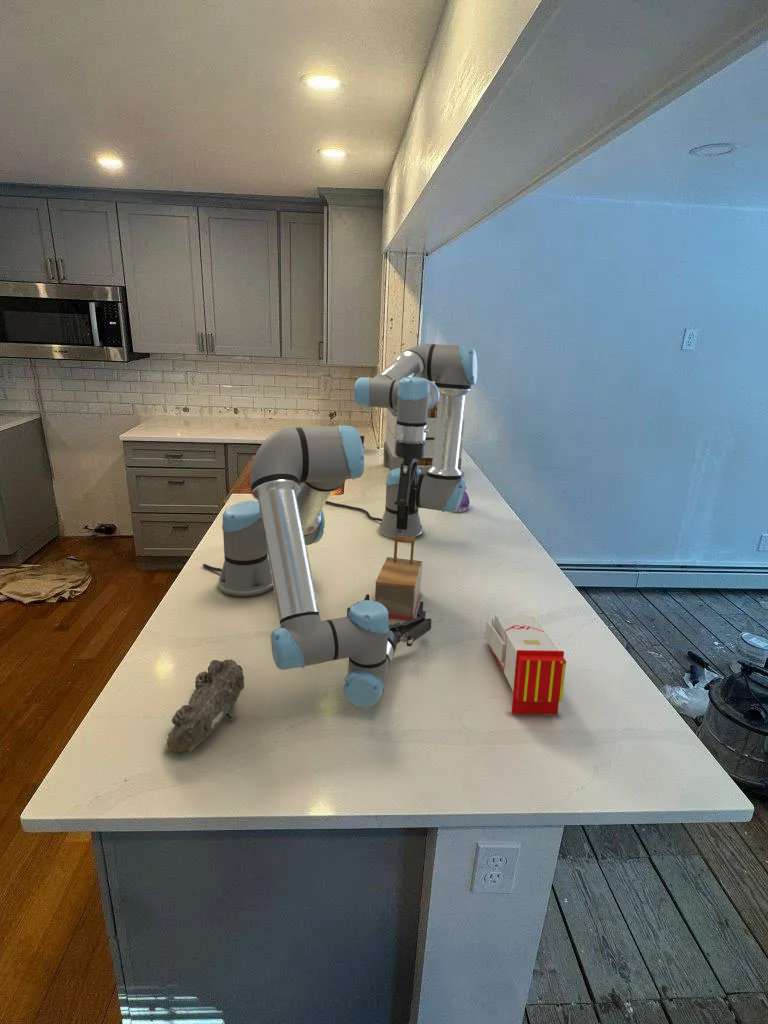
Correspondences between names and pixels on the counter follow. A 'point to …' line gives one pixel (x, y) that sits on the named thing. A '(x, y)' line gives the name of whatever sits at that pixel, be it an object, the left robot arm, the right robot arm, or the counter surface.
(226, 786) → the counter surface
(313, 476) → the left robot arm
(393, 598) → the chest
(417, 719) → the counter surface
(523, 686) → the toy
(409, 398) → the right robot arm
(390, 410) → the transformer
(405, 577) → the lid
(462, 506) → the figurine
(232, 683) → the fossil
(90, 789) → the counter surface
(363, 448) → the figurine character
